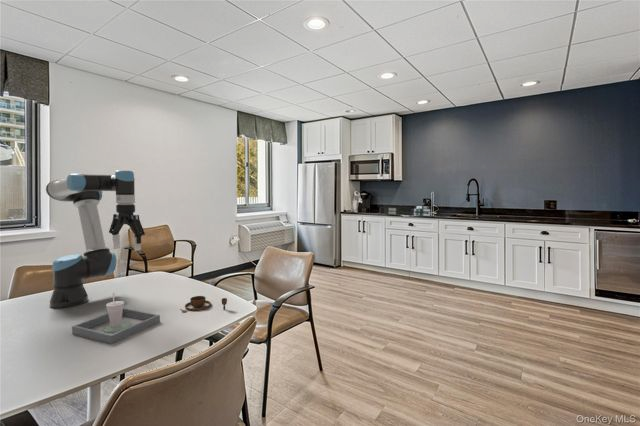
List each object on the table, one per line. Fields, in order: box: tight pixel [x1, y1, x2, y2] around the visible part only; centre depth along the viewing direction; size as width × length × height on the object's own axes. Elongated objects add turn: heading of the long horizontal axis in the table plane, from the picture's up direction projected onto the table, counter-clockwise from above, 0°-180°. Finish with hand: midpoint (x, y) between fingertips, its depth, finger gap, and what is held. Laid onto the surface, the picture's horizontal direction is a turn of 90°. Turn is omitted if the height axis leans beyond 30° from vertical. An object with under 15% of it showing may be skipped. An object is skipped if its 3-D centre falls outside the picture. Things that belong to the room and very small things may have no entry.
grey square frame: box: [71, 307, 161, 345], centre depth 135 cm, size 22×22×3 cm
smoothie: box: [105, 292, 125, 328], centre depth 135 cm, size 6×6×14 cm
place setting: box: [179, 295, 228, 313], centre depth 157 cm, size 18×20×6 cm
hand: (127, 249), depth 153 cm, fingers open, 13 cm apart
